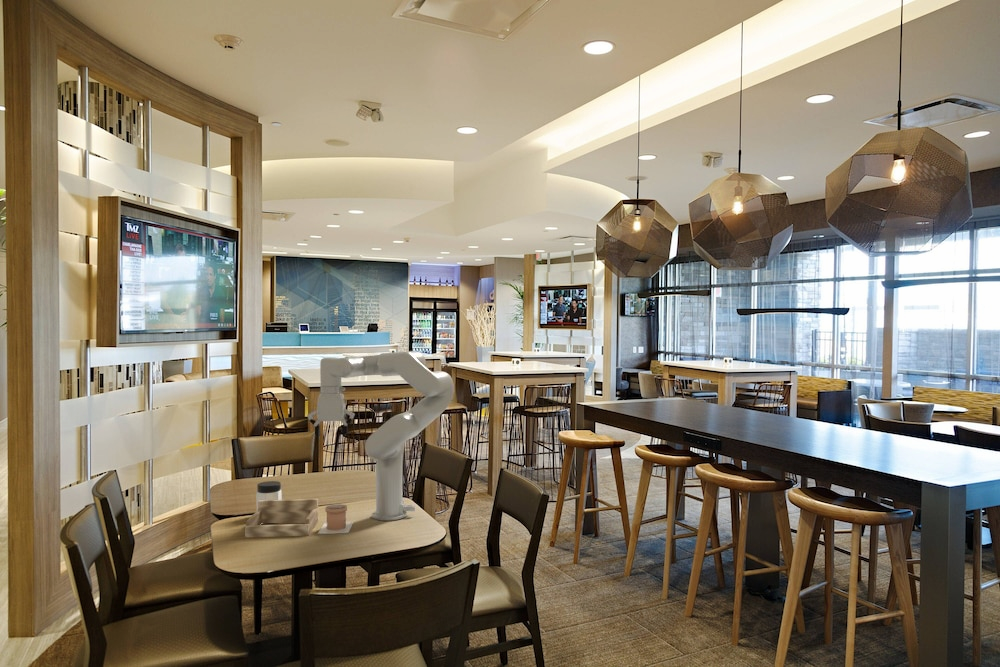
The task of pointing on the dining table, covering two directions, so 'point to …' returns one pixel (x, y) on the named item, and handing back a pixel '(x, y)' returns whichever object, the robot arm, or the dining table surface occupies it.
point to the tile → (326, 531)
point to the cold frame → (283, 518)
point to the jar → (268, 491)
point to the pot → (336, 516)
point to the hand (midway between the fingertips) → (331, 436)
